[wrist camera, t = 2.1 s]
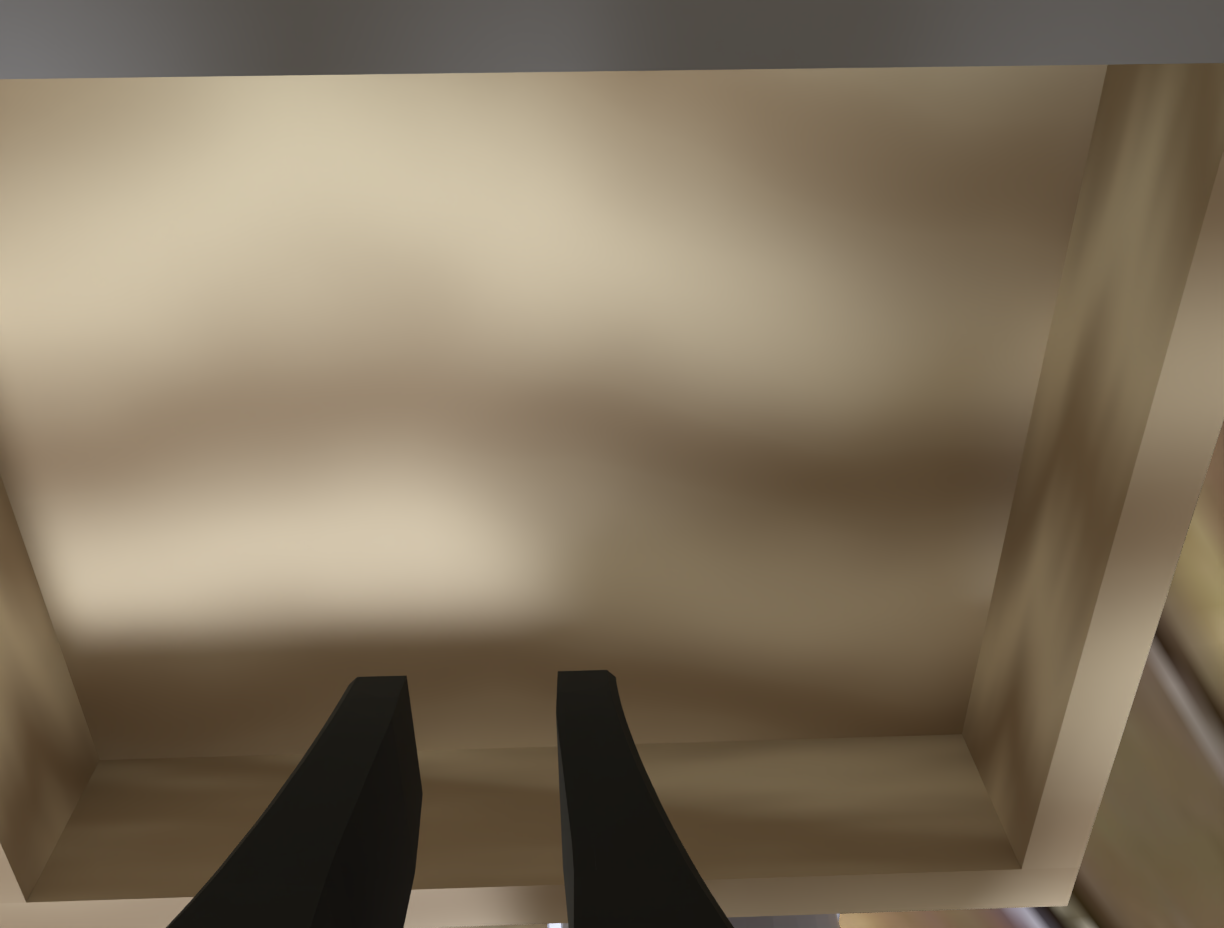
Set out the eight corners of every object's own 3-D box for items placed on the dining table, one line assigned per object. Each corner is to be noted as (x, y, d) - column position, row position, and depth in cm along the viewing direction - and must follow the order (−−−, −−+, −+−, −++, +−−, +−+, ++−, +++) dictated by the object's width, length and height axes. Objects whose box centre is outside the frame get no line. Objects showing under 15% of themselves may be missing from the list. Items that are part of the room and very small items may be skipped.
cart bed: (986, 733, 27) (1067, 905, 22) (80, 760, 26) (-17, 943, 22) (1161, -17, 18) (1349, 27, 14) (-193, -2, 17) (-447, 50, 13)
